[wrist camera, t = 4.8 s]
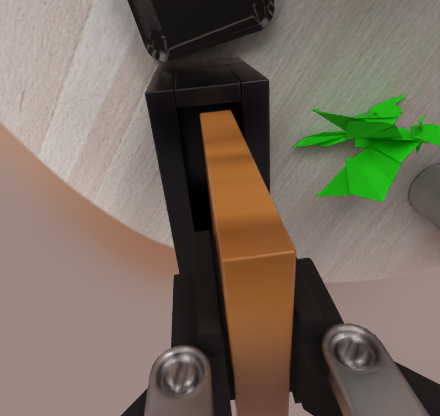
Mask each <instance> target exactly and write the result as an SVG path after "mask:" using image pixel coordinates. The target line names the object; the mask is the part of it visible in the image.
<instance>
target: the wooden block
mask: <svg viewBox="0 0 440 416" xmlns="http://www.w3.org/2000/svg"><path fill="white" fill-rule="evenodd" d="M200 122H201V131H202V140H203V148H204V157H205V166H206V174H207V183H208V192H209V200H210V209H211V218H212V227H213V234H215V238H216V246H217V253H218V261H219V268H220V275H221V283H222V290H223V298H224V305H225V312H226V320H227V328H228V336H229V345H230V355H231V364H232V373H233V383H234V392H235V408H236V416H288V411H289V391H290V370H291V350H292V329H293V308H294V288H295V267H296V250H295V248H294V246H293V244H292V242H291V240H290V237H289V235H288V233H287V231H286V229H285V227H284V224H283V222H282V220H281V218H280V216H279V214H278V211H277V209H276V207H275V205H274V203H273V201H272V198H271V196H270V194H269V192H268V190H267V187H266V185H265V183H264V181H263V179H262V177H261V174H260V172H259V170H258V168H257V166H256V164H255V161H254V159H253V157H252V155H251V153H250V151H249V148H248V146H247V144H246V142H245V140H244V138H243V135H242V133H241V131H240V129H239V127H238V125H237V122H236V120H235V118H234V116H233V114H232V112H231V110H224V111H215V112H206V113H200Z"/></svg>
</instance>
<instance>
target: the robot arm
mask: <svg viewBox="0 0 440 416" xmlns="http://www.w3.org/2000/svg"><path fill="white" fill-rule="evenodd" d="M194 255H195V272H193V273H185V274H177V275H174V286H173V312H172V338H171V340H172V341H171V348H170V349H168V350H167V351H165V352H164V353H162V354H161V355H160V356H159V357H158V358H157V360H156V361H155V363H154V364H153V366H152V369H151V372H150V377H149V384H148V388H147V389H146V390H145V391H144V393H143V394H142V395H141V396H140V397H139V398H138V399H137V400H136V401H135V402H134V403H133V404H132V405H131V406H130V407H129V408H128V409H127V410H126V411H125V412H124V413H123V414H122V415H121V416H232V414H231V404H230V400H235V392H234V383H233V373H232V364H231V355H230V345H229V336H228V328H227V320H226V312H225V305H224V298H223V290H222V283H221V275H220V268H219V261H218V253H217V246H216V238H215V234H210V230H207V231H199V232H194ZM291 391H292V393H293V397H294V401H295V403H302V406H303V409H304V410H306V411H307V412H309V413H310V414H312V415H313V416H440V384H438V383H435V382H434V381H432V380H430V379H428V378H426V377H424V376H422V375H420V374H418V373H416V372H414V371H412V370H410V369H408V368H406V367H404V366H402V365H400V364H399V363H397V362H394V361H393V359H392V358H391V356H390V355H389V353H388V352H387V350H386V348H385V347H384V345H383V344H382V343H381V341H380V340H379V339H378V338H377V337H376V335H374V334H373V333H371V332H370V331H369V330H367V329H365V328H363V327H361V326H358V325H354V324H344V322H343V320H342V318H341V316H340V314H339V312H338V310H337V308H336V306H335V304H334V302H333V300H332V299H331V296H330V294H329V293H328V291H327V289H326V287H325V285H324V283H323V281H322V279H321V277H320V275H319V273H318V271H317V269H316V267H315V265H314V263H313V261H312V260H311V259H310V258H303V259H297V257H296V267H295V288H294V308H293V329H292V350H291V370H290V391H289V392H291Z"/></svg>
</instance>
